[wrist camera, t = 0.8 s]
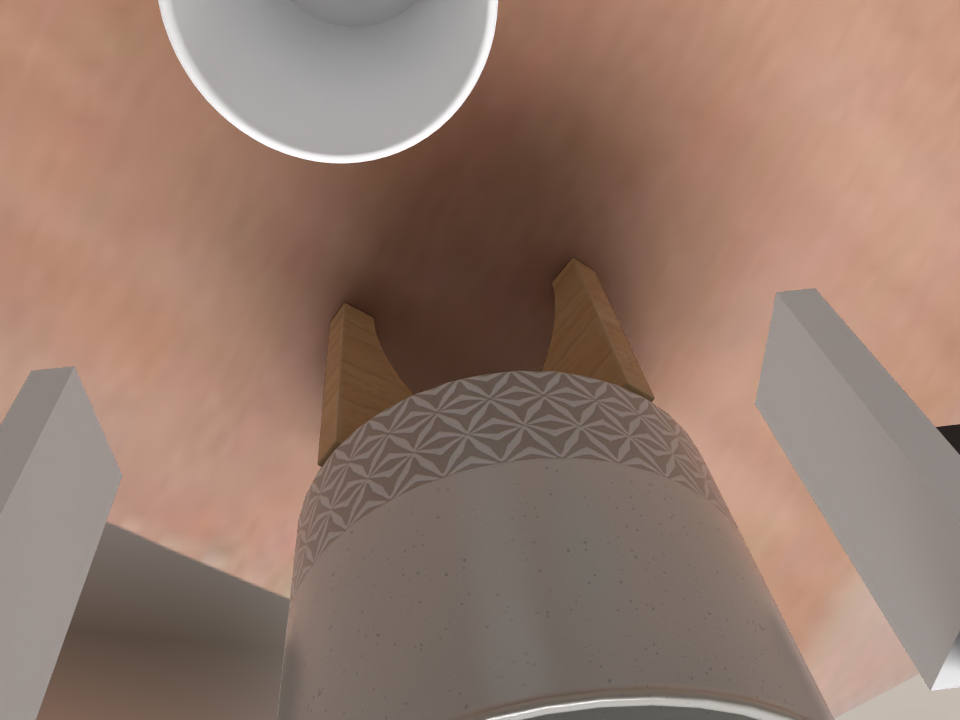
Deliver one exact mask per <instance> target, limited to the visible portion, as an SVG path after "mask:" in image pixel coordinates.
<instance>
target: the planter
mask: <svg viewBox="0 0 960 720" xmlns="http://www.w3.org/2000/svg"><path fill="white" fill-rule="evenodd" d="M552 286H553V289H554V294H555V320H554V326H553V333H552V338H551V342H550V346H549V350H548V353H547V356H546V359H545V362H544V365H543V369H542V371H510V372H500V373H491V374H482V375H478V376H473V377H469V378H465V379H460V380H456V381H452V382H447V383H445V384H442V385H439V386H436V387H434V388H431V389H428V390H425V391H423V392H420V393H417V394H413V393H412V392H411V391H410V389H409V388H408V387H407V386H406V385H405V383H404V382H403V381H402V380H401V378H400V377H399V375H398V374H397V373H396V371H395V370H394V368H393V367H392V365H391V364H390V362H389V360H388V359H387V357H386V355H385V353H384V351H383V349H382V347H381V344H380V342H379V340H378V337H377V334H376V330H375V323H374V318H373V317H371V316H369V315H367V314H365V313H363V312H361V311H359V310H358V309H356V308H354V307H352V306H350V305H348V304H346V303H344V304H343V305H342V307H341V308H340V310H339V311H338V313H337V314H336V315H335V317H334V318H333V320H332V321H331V323H330V328H329V340H328V351H327V362H326V374H325V385H324V396H323V408H322V419H321V430H320V441H319V453H318V465H319V466H321V469H320V470H319V471H318V473H317V475H316V477H315V479H314V481H313V483H312V485H311V487H310V489H309V490H308V492H307V494H306V496H305V500H304V503H303V507H302V510H301V514H300V517H299V521H298V530H297V540H296V549H295V558H294V567H293V577H292V586H291V595H290V604H289V615H288V623H287V632H286V641H285V651H284V660H283V669H282V679H281V689H280V697H279V706H278V715H277V720H834V718H833V716H832V714H831V712H830V710H829V708H828V706H827V704H826V702H825V700H824V698H823V696H822V694H821V692H820V690H819V688H818V686H817V684H816V682H815V680H814V678H813V676H812V674H811V672H810V670H809V668H808V666H807V664H806V662H805V660H804V658H803V656H802V654H801V652H800V650H799V648H798V646H797V644H796V642H795V640H794V638H793V636H792V634H791V632H790V630H789V628H788V627H787V625H786V623H785V621H784V619H783V617H782V615H781V613H780V611H779V609H778V607H777V605H776V603H775V601H774V599H773V597H772V595H771V593H770V591H769V589H768V587H767V585H766V583H765V581H764V579H763V577H762V575H761V573H760V571H759V569H758V567H757V565H756V563H755V561H754V559H753V557H752V555H751V553H750V551H749V549H748V547H747V545H746V543H745V541H744V539H743V537H742V535H741V533H740V531H739V529H738V527H737V525H736V523H735V521H734V519H733V517H732V515H731V513H730V511H729V509H728V507H727V505H726V503H725V501H724V499H723V497H722V495H721V493H720V491H719V489H718V487H717V485H716V483H715V481H714V479H713V477H712V475H711V473H710V471H709V469H708V467H707V465H706V463H705V462H704V460H703V458H702V456H701V454H700V452H699V450H698V449H697V447H696V446H695V444H694V443H693V441H692V440H691V438H690V437H689V435H688V434H687V432H686V431H685V430H684V429H683V428H682V427H681V426H680V425H679V424H678V423H677V422H676V421H675V420H674V419H673V418H672V417H671V416H670V415H669V414H667V413H666V412H665V411H663V410H662V409H660V408H659V407H657V406H656V405H654V404H653V403H651V402H652V401H653V400H654V396H653V393H652V391H651V389H650V387H649V385H648V383H647V381H646V379H645V377H644V374H643V372H642V370H641V368H640V366H639V364H638V362H637V360H636V357H635V355H634V353H633V351H632V349H631V347H630V345H629V343H628V341H627V338H626V336H625V334H624V332H623V330H622V328H621V326H620V324H619V322H618V319H617V317H616V315H615V313H614V311H613V309H612V307H611V305H610V302H609V300H608V298H607V296H606V294H605V292H604V290H603V288H602V286H601V283H600V281H599V279H598V277H597V275H596V273H595V271H594V270H592V269H591V268H589V267H587V266H586V265H584V264H583V263H581V262H579V261H578V260H576V259H575V258H572V259H571V260H570V262H569V263H568V264H567V265H566V266H565V268H564V269H563V270H562V271H561V273H560V274H559V275H558V276H557V277H556V279H555V280H554V281H553V282H552Z"/></svg>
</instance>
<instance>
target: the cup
mask: <svg viewBox="0 0 960 720" xmlns="http://www.w3.org/2000/svg"><path fill="white" fill-rule="evenodd" d="M158 3H159V7H160V11H161V15H162V19H163V23H164V25H165V28H166V31H167V34H168V37H169V40H170V42H171V44H172V47H173V49H174V51H175V53H176V55H177V57H178V59H179V61H180V63H181V65H182V66H183V68H184V70H185V71H186V73H187V74H188V76H189V78H190V79H191V81H192V82H193V84H194V85H195V86H196V87H197V89H198V90H199V91H200V93H201V94H202V95H203V96H204V98H205V99H206V100H207V101H208V102H209V103H210V104H211V105H212V106H213V107H214V108H215V109H216V110H217V111H218V112H219V113H220V114H221V115H222V116H223V117H224V118H226V119H227V120H228V121H229V122H230V123H232V124H233V125H234V126H235V127H237V128H238V129H239V130H241V131H242V132H244V133H245V134H247V135H248V136H250V137H252V138H253V139H255V140H257V141H258V142H260V143H262V144H264V145H266V146H268V147H270V148H273V149H275V150H277V151H280V152H282V153H285V154H288V155H291V156H295V157H298V158H302V159H307V160H311V161H317V162H326V163H357V162H364V161H370V160H376V159H379V158H383V157H387V156H390V155H393V154H395V153H398V152H401V151H403V150H405V149H407V148H409V147H411V146H413V145H415V144H417V143H418V142H420V141H422V140H423V139H425V138H427V137H428V136H429V135H431V134H432V133H433V132H435V131H436V130H437V129H439V128H440V127H441V126H442V125H443V124H444V123H445V122H446V121H447V120H449V119H450V118H451V117H452V115H453V114H454V113H455V112H456V111H457V110H458V109H459V108H460V106H461V105H462V104H463V102H464V101H465V100H466V98H467V97H468V96H469V94H470V93H471V91H472V89H473V87H474V86H475V84H476V82H477V81H478V79H479V77H480V74H481V72H482V70H483V68H484V66H485V63H486V60H487V58H488V55H489V52H490V49H491V45H492V41H493V37H494V32H495V26H496V20H497V9H498V0H158Z"/></svg>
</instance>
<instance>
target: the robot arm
mask: <svg viewBox="0 0 960 720" xmlns="http://www.w3.org/2000/svg"><path fill="white" fill-rule="evenodd" d="M755 405H756V406H757V408H758V410H759V411H760V413H761V415H762V416H763V418H764V420H765V421H766V423H767V424H768V426H769V428H770V429H771V431H772V433H773V434H774V436H775V438H776V439H777V441H778V442H779V444H780V446H781V447H782V449H783V451H784V452H785V454H786V456H787V457H788V459H789V460H790V462H791V464H792V465H793V467H794V469H795V470H796V472H797V473H798V475H799V477H800V478H801V480H802V482H803V483H804V485H805V487H806V488H807V490H808V491H809V493H810V495H811V496H812V498H813V500H814V501H815V503H816V505H817V506H818V508H819V509H820V511H821V513H822V514H823V516H824V518H825V519H826V521H827V523H828V524H829V526H830V527H831V529H832V531H833V532H834V534H835V536H836V537H837V539H838V540H839V542H840V544H841V545H842V547H843V549H844V550H845V552H846V554H847V555H848V557H849V558H850V560H851V562H852V563H853V565H854V567H855V568H856V570H857V572H858V573H859V575H860V576H861V578H862V580H863V581H864V583H865V585H866V586H867V588H868V589H869V591H870V593H871V594H872V596H873V598H874V599H875V601H876V603H877V604H878V606H879V607H880V609H881V611H882V612H883V614H884V616H885V617H886V619H887V621H888V622H889V624H890V625H891V627H892V629H893V630H894V632H895V634H896V635H897V637H898V639H899V640H900V642H901V643H902V645H903V647H904V648H905V650H906V652H907V653H908V655H909V656H910V658H911V660H912V661H913V663H914V665H915V666H916V668H917V670H918V671H919V673H920V674H921V676H922V678H923V679H924V681H925V683H926V684H927V686H928V687H929V689H930V691H932V690H939V689H947V688H955V687H960V424H958V425H950V426H941V427H935V426H934V425H933V424H932V422H931V421H930V420H929V419H928V418H927V417H926V415H925V414H924V413H923V412H922V411H921V410H920V409H919V407H918V406H917V405H916V404H915V403H914V402H913V400H912V399H911V398H910V397H909V396H908V395H907V394H906V392H905V391H904V390H903V389H902V388H901V387H900V386H899V384H898V383H897V382H896V381H895V380H894V379H893V377H892V376H891V375H890V374H889V373H888V372H887V371H886V369H885V368H884V367H883V366H882V365H881V364H880V362H879V361H878V360H877V359H876V358H875V357H874V356H873V354H872V353H871V352H870V351H869V350H868V349H867V347H866V346H865V345H864V344H863V343H862V342H861V341H860V339H859V338H858V337H857V336H856V335H855V334H854V332H853V331H852V330H851V329H850V328H849V327H848V326H847V324H846V323H845V322H844V321H843V320H842V319H841V318H840V316H839V315H838V314H837V313H836V312H835V311H834V309H833V308H832V307H831V306H830V305H829V304H828V303H827V301H826V300H825V299H824V298H823V297H822V296H821V294H820V293H819V292H818V291H817V290H816V289H815V288H813V289H804V290H794V291H785V292H776V297H775V302H774V307H773V312H772V318H771V323H770V328H769V333H768V339H767V344H766V349H765V354H764V360H763V365H762V370H761V375H760V381H759V386H758V391H757V396H756V402H755ZM121 478H122V474H121V472H120V469H119V467H118V465H117V463H116V460H115V458H114V456H113V453H112V451H111V449H110V446H109V444H108V442H107V440H106V437H105V435H104V433H103V430H102V428H101V426H100V423H99V421H98V419H97V417H96V414H95V412H94V410H93V407H92V405H91V403H90V400H89V398H88V396H87V394H86V391H85V389H84V387H83V384H82V382H81V380H80V378H79V375H78V373H77V371H76V368H75V366H73V367H64V368H54V369H45V370H35V371H31V373H30V374H29V376H28V378H27V380H26V381H25V383H24V385H23V387H22V388H21V390H20V392H19V394H18V395H17V397H16V399H15V401H14V402H13V404H12V406H11V408H10V409H9V411H8V413H7V415H6V416H5V418H4V420H3V422H2V423H1V425H0V720H36V717H37V715H38V712H39V709H40V706H41V703H42V701H43V698H44V695H45V692H46V689H47V686H48V683H49V681H50V678H51V675H52V672H53V670H54V667H55V664H56V661H57V658H58V655H59V653H60V649H61V647H62V644H63V641H64V639H65V636H66V633H67V630H68V627H69V624H70V622H71V619H72V616H73V613H74V610H75V608H76V604H77V602H78V599H79V596H80V593H81V591H82V588H83V585H84V582H85V579H86V577H87V574H88V571H89V568H90V565H91V563H92V559H93V557H94V554H95V551H96V548H97V546H98V543H99V540H100V537H101V534H102V532H103V529H104V526H105V523H106V520H107V517H108V515H109V512H110V509H111V506H112V503H113V501H114V498H115V495H116V492H117V489H118V486H119V484H120V481H121Z"/></svg>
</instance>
